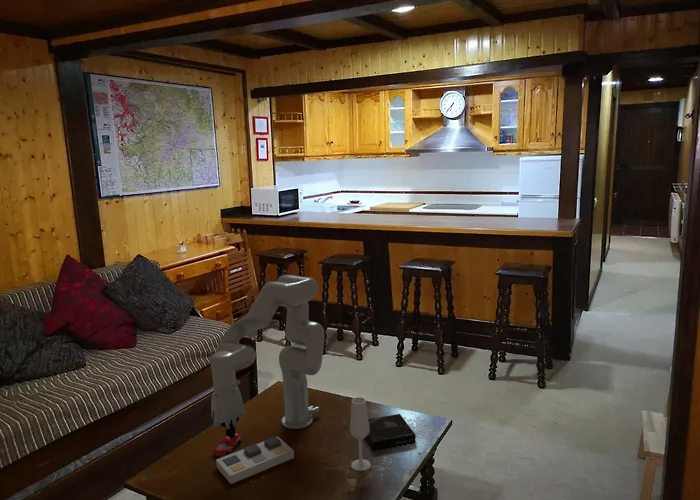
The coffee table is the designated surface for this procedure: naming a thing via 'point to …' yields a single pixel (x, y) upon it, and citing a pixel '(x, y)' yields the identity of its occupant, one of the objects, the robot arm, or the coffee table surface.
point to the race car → (227, 445)
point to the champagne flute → (359, 429)
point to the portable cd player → (389, 432)
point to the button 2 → (272, 443)
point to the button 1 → (231, 460)
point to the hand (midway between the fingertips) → (231, 436)
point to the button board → (254, 461)
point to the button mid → (252, 450)
